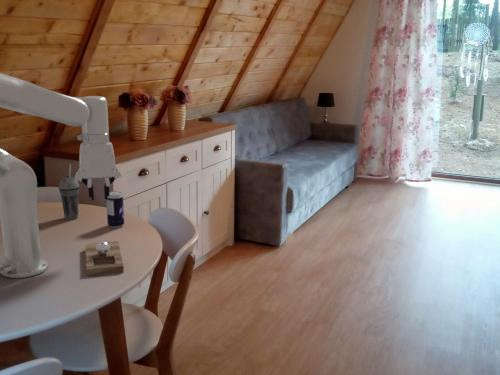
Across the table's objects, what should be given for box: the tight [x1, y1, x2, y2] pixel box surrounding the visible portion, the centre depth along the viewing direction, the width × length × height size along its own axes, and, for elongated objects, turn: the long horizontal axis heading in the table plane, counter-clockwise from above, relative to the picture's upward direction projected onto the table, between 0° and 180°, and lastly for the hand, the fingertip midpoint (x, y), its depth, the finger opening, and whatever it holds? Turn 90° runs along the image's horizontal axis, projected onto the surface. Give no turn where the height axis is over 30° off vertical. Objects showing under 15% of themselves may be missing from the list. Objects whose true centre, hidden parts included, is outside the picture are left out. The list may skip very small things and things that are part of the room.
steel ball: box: [96, 240, 110, 255], centre depth 163 cm, size 4×4×4 cm
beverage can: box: [105, 191, 125, 229], centre depth 193 cm, size 6×6×12 cm
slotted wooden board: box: [84, 241, 125, 277], centre depth 164 cm, size 20×10×2 cm, turn 17°
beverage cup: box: [58, 163, 80, 221], centre depth 199 cm, size 7×7×20 cm
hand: (99, 198), depth 167 cm, fingers open, 3 cm apart
